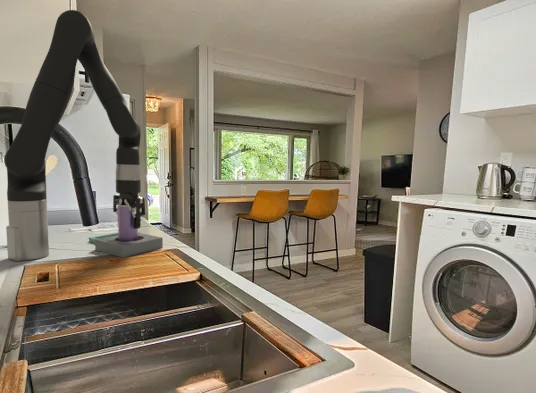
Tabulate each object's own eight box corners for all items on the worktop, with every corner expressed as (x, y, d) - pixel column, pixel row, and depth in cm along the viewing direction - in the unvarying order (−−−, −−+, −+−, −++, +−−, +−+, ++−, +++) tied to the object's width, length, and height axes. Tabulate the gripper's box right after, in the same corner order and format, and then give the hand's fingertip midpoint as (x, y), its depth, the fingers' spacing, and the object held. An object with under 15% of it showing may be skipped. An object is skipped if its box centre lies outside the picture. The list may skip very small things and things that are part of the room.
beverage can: (133, 250, 103) (132, 205, 102) (115, 250, 103) (114, 205, 102) (140, 246, 109) (140, 203, 108) (124, 245, 109) (123, 203, 108)
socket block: (122, 257, 96) (121, 246, 95) (95, 249, 104) (95, 239, 103) (162, 247, 108) (162, 237, 108) (135, 241, 116) (135, 232, 116)
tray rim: (107, 246, 108) (107, 242, 108) (89, 241, 114) (88, 237, 114) (138, 240, 118) (138, 236, 118) (119, 236, 124) (119, 232, 124)
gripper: (105, 177, 104) (106, 225, 106) (130, 179, 97) (131, 231, 98) (125, 177, 111) (126, 223, 112) (151, 179, 103) (152, 227, 104)
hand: (129, 226), depth 105 cm, fingers open, 8 cm apart
